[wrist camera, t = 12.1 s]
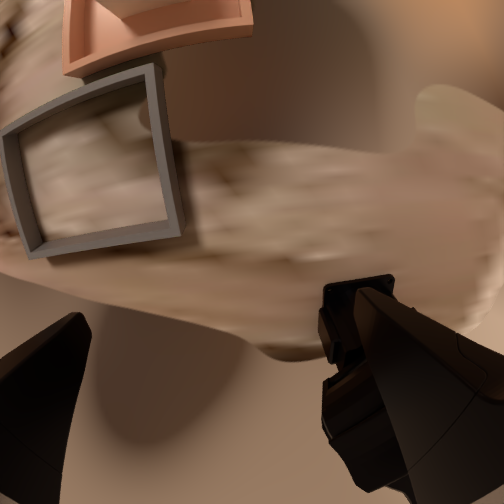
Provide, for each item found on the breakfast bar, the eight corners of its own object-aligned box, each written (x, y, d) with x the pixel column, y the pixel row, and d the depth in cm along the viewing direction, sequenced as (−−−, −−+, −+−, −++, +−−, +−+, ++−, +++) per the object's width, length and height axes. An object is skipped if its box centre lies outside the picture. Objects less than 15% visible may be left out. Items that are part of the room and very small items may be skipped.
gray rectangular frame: (161, 68, 14) (153, 62, 13) (186, 225, 19) (180, 236, 17) (12, 129, 14) (-3, 132, 13) (40, 249, 19) (28, 260, 18)
